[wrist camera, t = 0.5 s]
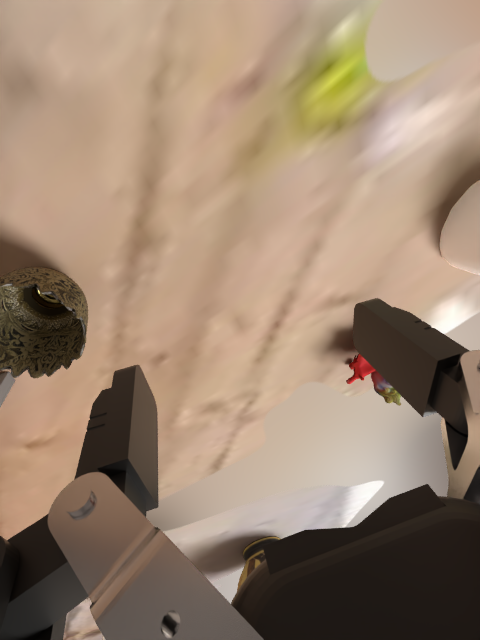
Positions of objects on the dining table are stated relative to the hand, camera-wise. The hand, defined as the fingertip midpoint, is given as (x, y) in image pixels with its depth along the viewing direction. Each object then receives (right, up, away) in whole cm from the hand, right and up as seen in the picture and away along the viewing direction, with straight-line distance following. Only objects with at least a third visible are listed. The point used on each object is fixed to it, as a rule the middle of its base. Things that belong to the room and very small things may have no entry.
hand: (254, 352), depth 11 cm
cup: (-17, +4, +16) cm, 23 cm away
